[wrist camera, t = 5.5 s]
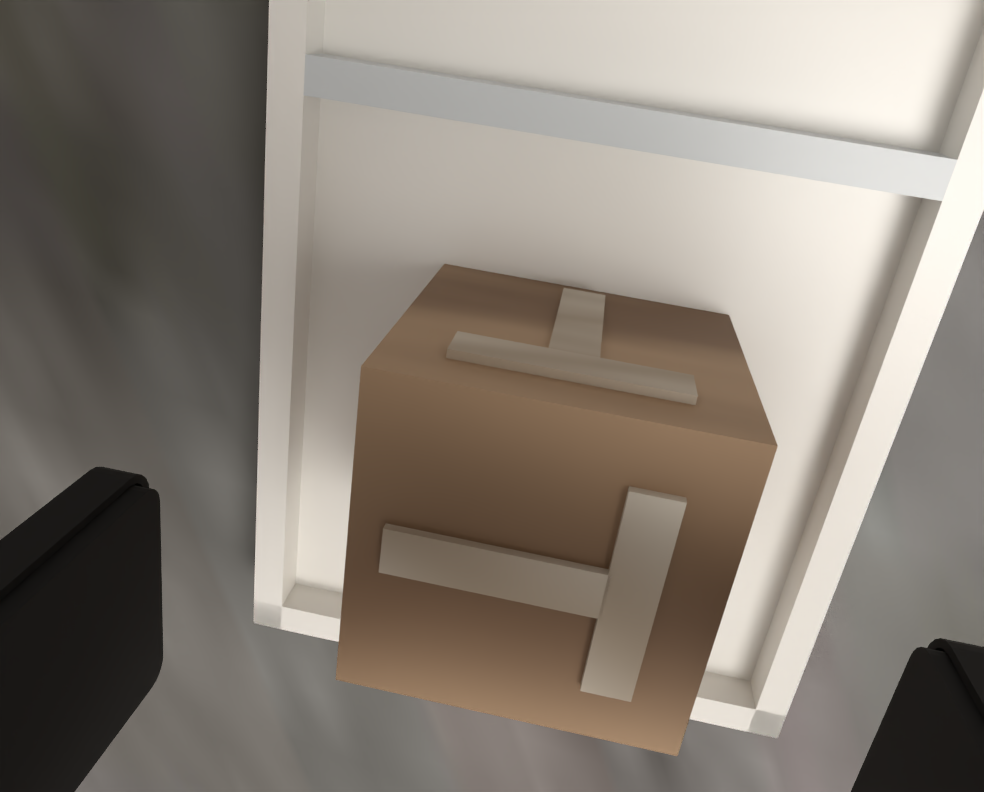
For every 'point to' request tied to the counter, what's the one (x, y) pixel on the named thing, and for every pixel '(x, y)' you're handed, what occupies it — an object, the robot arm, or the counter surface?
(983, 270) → the counter surface
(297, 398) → the tray
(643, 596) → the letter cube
